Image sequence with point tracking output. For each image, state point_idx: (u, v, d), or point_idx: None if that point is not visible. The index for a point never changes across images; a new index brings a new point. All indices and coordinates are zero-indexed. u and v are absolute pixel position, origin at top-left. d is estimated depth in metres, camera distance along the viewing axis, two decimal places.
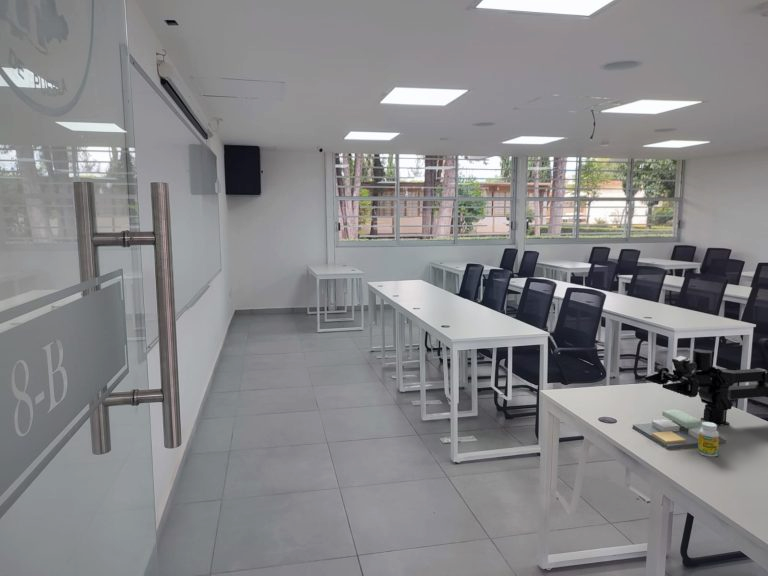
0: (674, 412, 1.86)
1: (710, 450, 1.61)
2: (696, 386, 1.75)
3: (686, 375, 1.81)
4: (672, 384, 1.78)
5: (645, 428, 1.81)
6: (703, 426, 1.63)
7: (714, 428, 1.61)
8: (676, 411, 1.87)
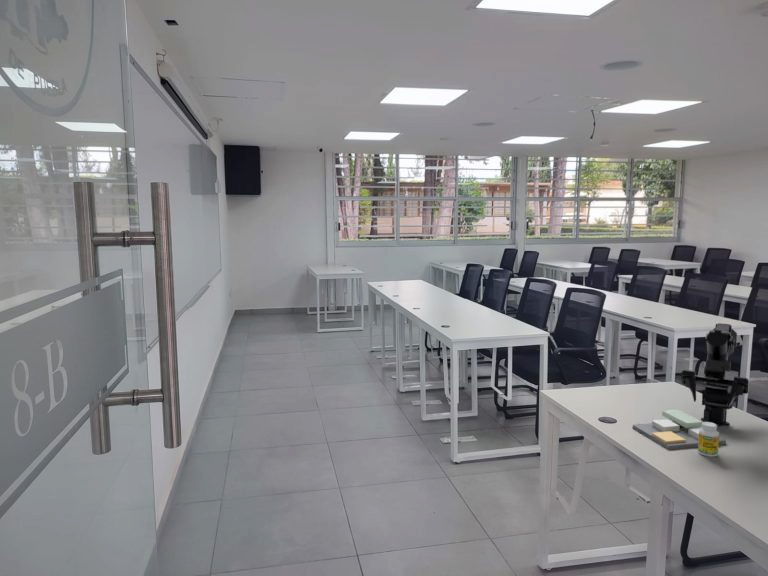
0: (674, 412, 1.86)
1: (710, 450, 1.61)
2: (748, 383, 1.67)
3: (725, 373, 1.70)
4: (732, 398, 1.66)
5: (645, 428, 1.81)
6: (703, 426, 1.63)
7: (714, 428, 1.61)
8: (676, 411, 1.87)
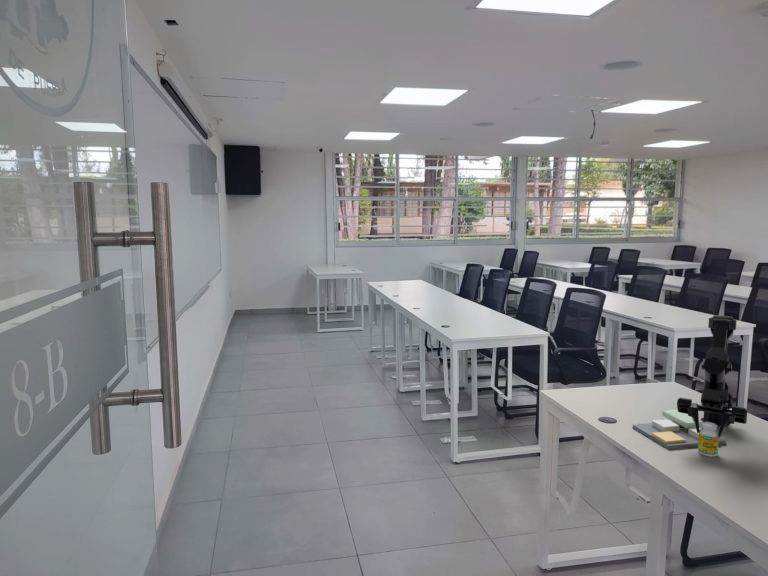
0: (674, 412, 1.86)
1: (710, 449, 1.61)
2: None
3: (722, 403, 1.64)
4: (724, 427, 1.61)
5: (645, 428, 1.81)
6: (703, 426, 1.63)
7: (714, 428, 1.61)
8: (676, 411, 1.87)
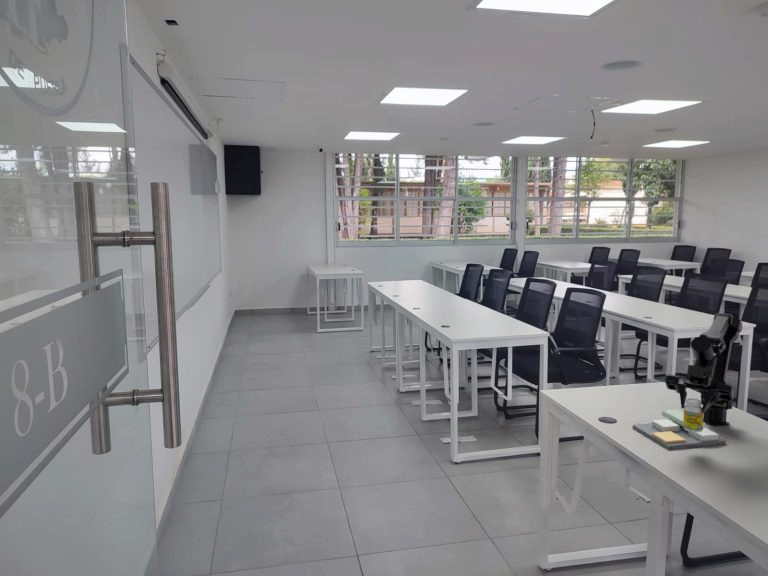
0: (674, 412, 1.86)
1: (694, 425, 1.64)
2: (732, 390, 1.61)
3: (708, 380, 1.65)
4: (707, 404, 1.63)
5: (645, 428, 1.81)
6: (687, 402, 1.65)
7: (697, 404, 1.63)
8: (676, 411, 1.87)
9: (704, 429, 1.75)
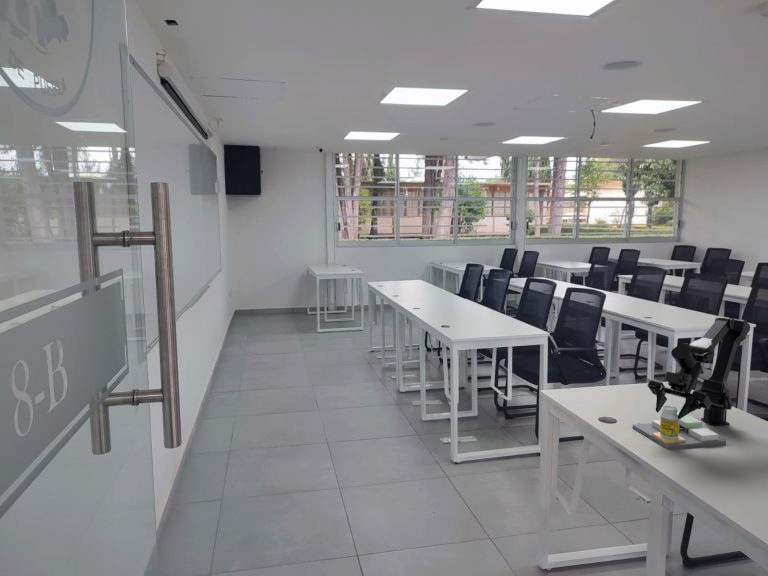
0: None
1: (667, 431, 1.70)
2: (708, 398, 1.65)
3: (687, 387, 1.70)
4: (684, 410, 1.68)
5: (645, 428, 1.81)
6: (663, 409, 1.72)
7: (672, 411, 1.70)
8: None
9: (704, 429, 1.75)
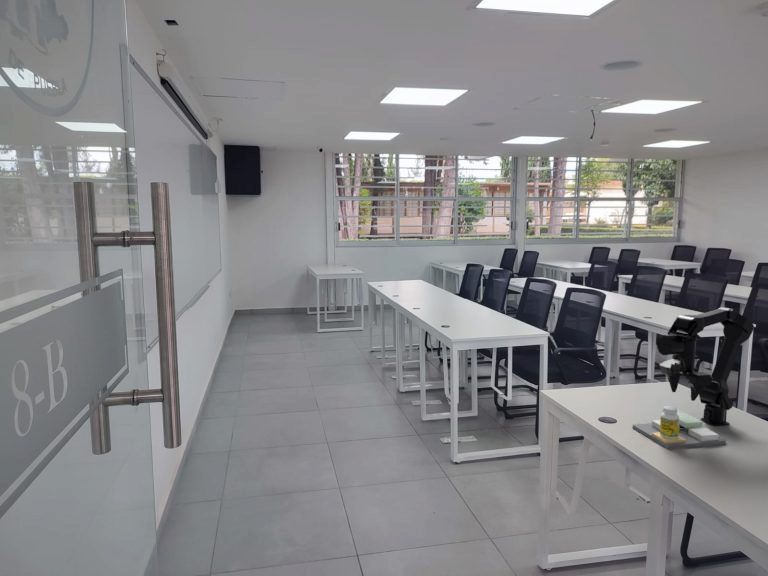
0: None
1: (667, 431, 1.70)
2: (703, 378, 1.72)
3: (684, 370, 1.78)
4: (693, 393, 1.76)
5: (645, 428, 1.81)
6: (663, 409, 1.72)
7: (672, 412, 1.70)
8: None
9: (704, 429, 1.75)
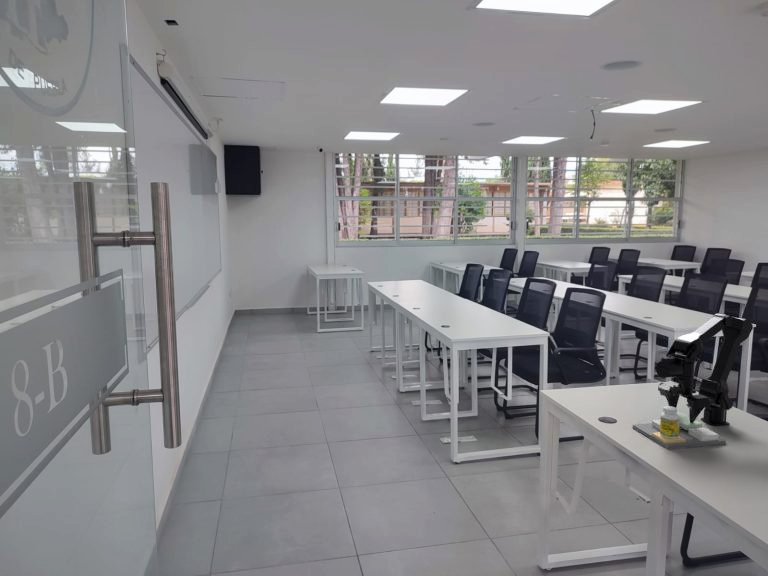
0: None
1: (667, 431, 1.70)
2: (701, 401, 1.73)
3: (682, 392, 1.79)
4: (692, 415, 1.77)
5: (645, 428, 1.81)
6: (663, 409, 1.72)
7: (672, 412, 1.70)
8: (676, 413, 1.87)
9: (704, 429, 1.75)
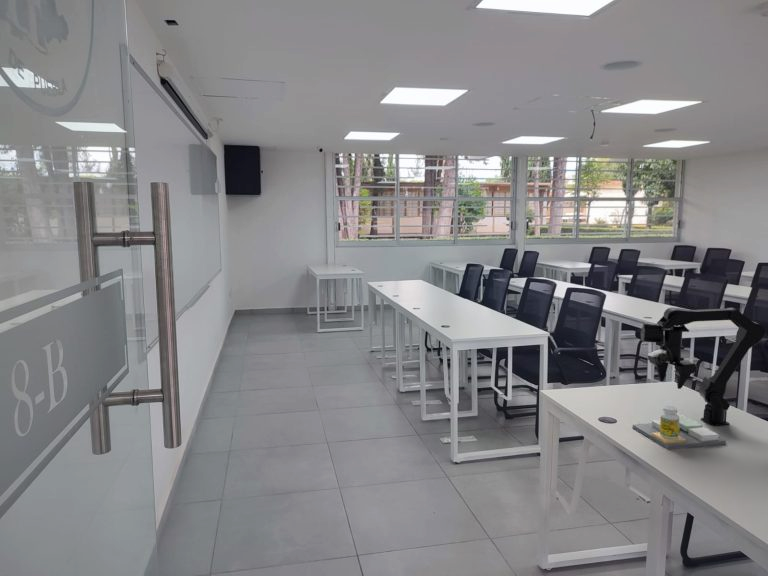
0: None
1: (667, 431, 1.70)
2: (688, 367, 1.81)
3: (671, 359, 1.87)
4: (680, 381, 1.85)
5: (645, 428, 1.81)
6: (663, 409, 1.72)
7: (672, 412, 1.70)
8: None
9: (704, 429, 1.75)
